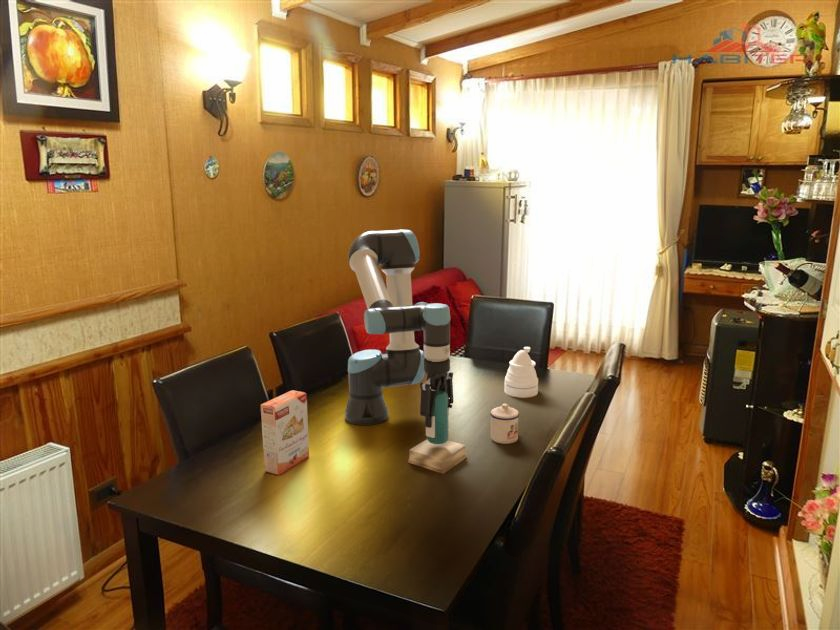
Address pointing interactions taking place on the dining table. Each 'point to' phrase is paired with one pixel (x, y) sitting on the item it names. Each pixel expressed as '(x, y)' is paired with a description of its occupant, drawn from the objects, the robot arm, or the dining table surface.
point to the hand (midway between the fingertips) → (437, 432)
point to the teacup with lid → (504, 424)
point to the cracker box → (285, 431)
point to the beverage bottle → (440, 417)
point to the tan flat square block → (437, 455)
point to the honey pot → (521, 376)
